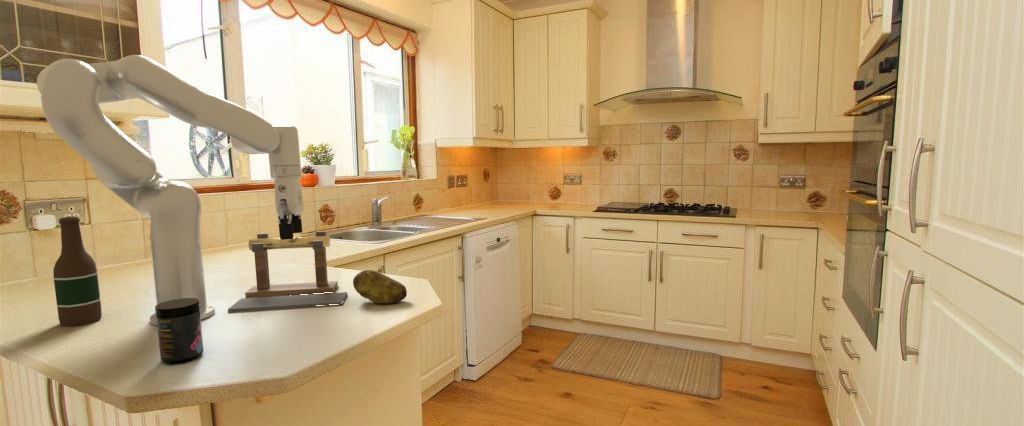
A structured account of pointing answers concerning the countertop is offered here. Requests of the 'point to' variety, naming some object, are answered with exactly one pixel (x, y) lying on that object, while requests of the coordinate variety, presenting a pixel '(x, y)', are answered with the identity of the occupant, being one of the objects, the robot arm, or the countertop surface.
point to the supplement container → (179, 330)
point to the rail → (290, 242)
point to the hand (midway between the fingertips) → (291, 235)
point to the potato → (378, 287)
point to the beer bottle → (75, 278)
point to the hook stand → (289, 289)
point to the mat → (287, 301)
